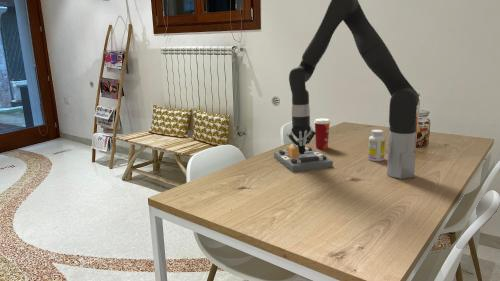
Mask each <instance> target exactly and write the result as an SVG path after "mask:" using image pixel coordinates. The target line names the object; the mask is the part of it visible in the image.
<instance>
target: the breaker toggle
mask: <svg viewBox="0 0 500 281" xmlns="http://www.w3.org/2000/svg"><path fill="white" fill-rule="evenodd" d="M287 150H288V156H289V157H290V158H298V157H299V148H298V146H297V145H295V144H294V143H291V144H290V145H288V146H287Z"/></svg>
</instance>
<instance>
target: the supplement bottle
mask: <svg viewBox="0 0 500 281" xmlns="http://www.w3.org/2000/svg"><path fill="white" fill-rule="evenodd" d="M383 134H384V130H382V129H371V135H370V136H369V137H368V151H367V153H368V155H367V158H368V160H370V161H372V162H382V161H384V160H385V149H386V148H385V146H386V145H385V144H386V138H385V136H383Z"/></svg>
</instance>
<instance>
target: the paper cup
mask: <svg viewBox="0 0 500 281" xmlns="http://www.w3.org/2000/svg"><path fill="white" fill-rule="evenodd" d="M313 123H314V132H315V135H314V137H315V148H316V149H318V150H326V149H328V145H329V135H330V124H331V120H330V119H328V118H325V117H324V118H321V117H320V118H315V119H314V122H313Z"/></svg>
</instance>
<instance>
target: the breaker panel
mask: <svg viewBox="0 0 500 281" xmlns="http://www.w3.org/2000/svg"><path fill="white" fill-rule="evenodd" d="M279 151H280V150H279ZM279 151H273V157H274V159H276V160H277V161H278V162H280V163H281V164H282V165H283V166H284V167H286V168H287V169H288V170H289V171H291V172H292V173H296V172H303V171H308V170H309V171H310V170H318V169H325V168H332V167H333V164H334V163H333V162H334V160H332V159H331V158H329V157H327V156H326V160H318V161H310V162H302V163H294V164H293V163H292V162H291V159H295V158H290V157H289V156H288V154H283V155H281V154H280V153H279ZM320 155H323V154H322V153H320V152H319V151H317V150H315V149H313V148H312V151H308V152H304V154H300V153H299V157H298V158H304V157H312V156H320Z"/></svg>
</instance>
